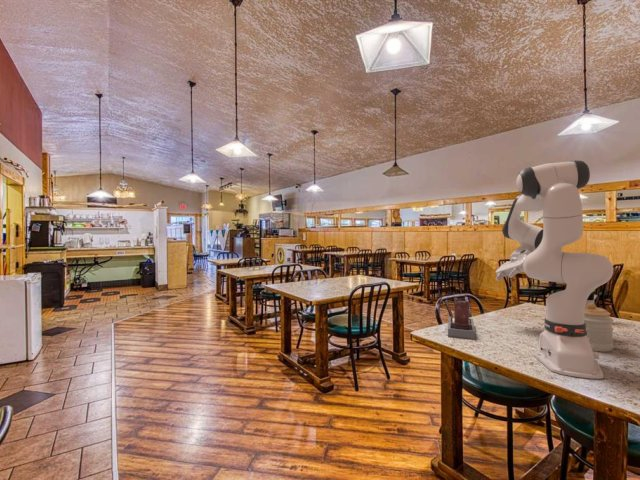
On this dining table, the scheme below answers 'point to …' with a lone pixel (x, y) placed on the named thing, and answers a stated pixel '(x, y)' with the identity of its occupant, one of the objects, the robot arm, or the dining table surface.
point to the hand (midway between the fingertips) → (503, 278)
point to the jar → (599, 328)
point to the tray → (459, 332)
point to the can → (461, 314)
